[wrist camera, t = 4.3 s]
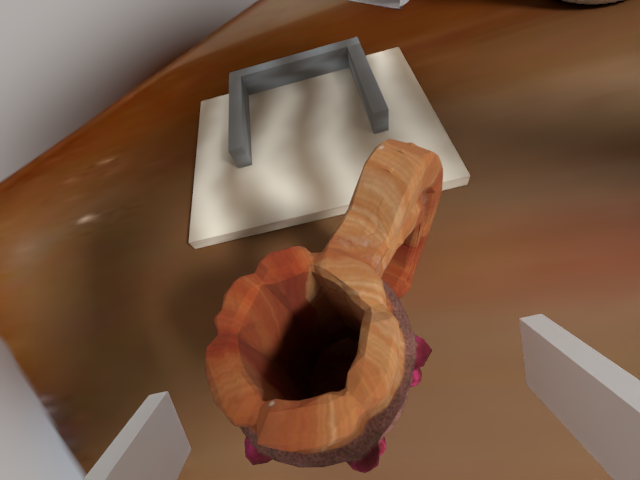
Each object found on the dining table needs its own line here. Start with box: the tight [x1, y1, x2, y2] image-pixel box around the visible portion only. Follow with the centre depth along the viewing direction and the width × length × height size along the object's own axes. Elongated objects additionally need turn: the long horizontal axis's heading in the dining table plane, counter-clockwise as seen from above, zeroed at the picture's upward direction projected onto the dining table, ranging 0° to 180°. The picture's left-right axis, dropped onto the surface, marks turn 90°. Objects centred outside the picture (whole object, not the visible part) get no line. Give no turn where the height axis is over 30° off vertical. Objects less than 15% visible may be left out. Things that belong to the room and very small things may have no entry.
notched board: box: [188, 37, 470, 249], centre depth 33 cm, size 26×22×4 cm
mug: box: [205, 139, 443, 473], centre depth 16 cm, size 15×8×15 cm, turn 146°
